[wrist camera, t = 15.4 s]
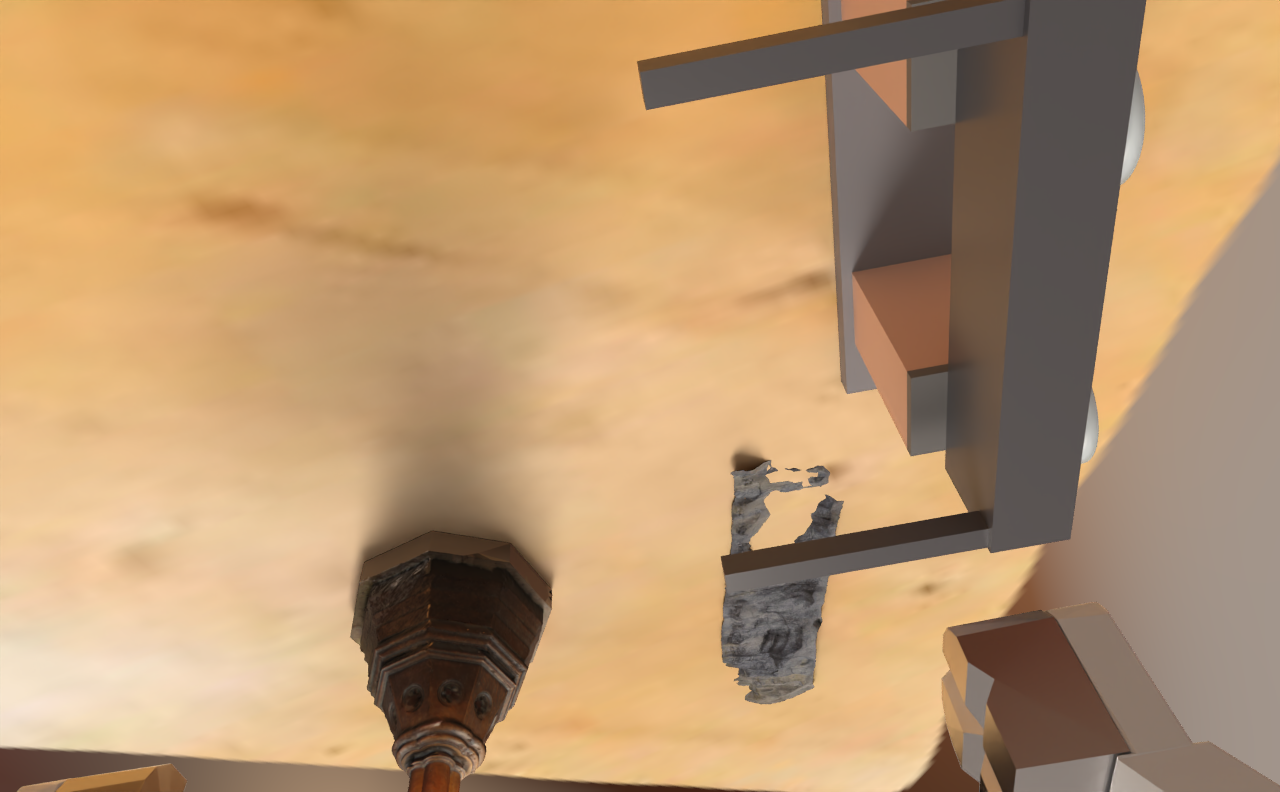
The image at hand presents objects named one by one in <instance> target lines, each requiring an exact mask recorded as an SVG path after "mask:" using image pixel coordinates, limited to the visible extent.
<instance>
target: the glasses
mask: <svg viewBox="0 0 1280 792" xmlns="http://www.w3.org/2000/svg"><path fill="white" fill-rule="evenodd" d="M1145 5H1146V0H945V1H940V2H935V3H930V4H925V5H920V6H915V7H910V8H905V9H900V10H895V11H890V12H884V13H879V14H874V15H869V16H864V17H859V18H854V19H849V20H844V21H839V22H834V23H829V24H824V25H819V26H814V27H809V28H803V29H798V30H793V31H788V32H783V33H778V34H773V35H768V36H763V37H758V38H753V39H748V40H743V41H738V42H733V43H728V44H722V45H717V46H712V47H707V48H702V49H697V50H692V51H687V52H682V53H677V54H672V55H667V56H662V57H657V58H652V59H647V60H641V61H637V64H638V70H639V76H640V82H641V88H642V94H643V99H644V103H645V107H646V110H649V109H654V108H659V107H664V106H670V105H675V104H680V103H685V102H690V101H695V100H700V99H705V98H710V97H716V96H721V95H726V94H731V93H736V92H741V91H746V90H751V89H757V88H762V87H767V86H772V85H777V84H782V83H787V82H792V81H797V80H803V79H808V78H813V77H818V76H823V75H828V74H833V73H838V72H843V71H849V70H854V69H859V68H864V67H869V66H874V65H879V64H884V63H889V62H895V61H900V60H905V59H910V58H915V57H920V56H925V55H930V54H936V53H941V52H946V51H951V50H956V49H957V79H956V113H955V148H954V182H953V216H952V251H951V285H950V319H949V354H948V388H947V422H946V457H945V469H946V471H947V473H948V474H949V476H950V478H951V480H952V482H953V484H954V486H955V488H956V489H957V491H958V493H959V495H960V497H961V499H962V501H963V503H964V504H965V506H966V508H967V510H968V513H962V514H957V515H951V516H945V517H940V518H934V519H929V520H923V521H917V522H912V523H906V524H900V525H895V526H889V527H883V528H878V529H872V530H867V531H861V532H855V533H850V534H844V535H838V536H833V537H827V538H821V539H816V540H810V541H805V542H799V543H793V544H788V545H782V546H776V547H771V548H765V549H759V550H754V551H748V552H743V553H737V554H731V555H726V556H721V561H722V567H723V573H724V578H725V583H726V588H727V593H732V592H738V591H743V590H749V589H755V588H760V587H766V586H772V585H777V584H783V583H789V582H794V581H800V580H806V579H811V578H817V577H823V576H829V575H834V574H840V573H846V572H851V571H857V570H863V569H868V568H874V567H880V566H885V565H891V564H897V563H902V562H908V561H914V560H919V559H925V558H931V557H937V556H942V555H948V554H954V553H959V552H965V551H971V550H976V549H982V548H988V549H989V551H990V553H994V552H1000V551H1006V550H1012V549H1017V548H1023V547H1029V546H1034V545H1040V544H1046V543H1051V542H1057V541H1063V540H1068V539H1070V537H1071V530H1072V523H1073V516H1074V509H1075V502H1076V495H1077V487H1078V480H1079V473H1080V466H1081V463H1085V462H1088V461H1089V460H1090V459H1091V458H1092V456H1093V455H1094V453H1095V450H1096V447H1097V442H1098V429H1099V426H1098V413H1097V406H1096V401H1095V397H1094V393H1093V390H1092V381H1093V374H1094V367H1095V360H1096V353H1097V346H1098V339H1099V332H1100V324H1101V317H1102V310H1103V303H1104V296H1105V289H1106V282H1107V275H1108V268H1109V261H1110V254H1111V246H1112V239H1113V232H1114V225H1115V218H1116V211H1117V204H1118V197H1119V190H1120V185H1121V184H1123V183H1124V182H1125V181H1126V180H1127V179H1128V178H1129V177H1130V176H1131V174H1132V173H1133V171H1134V169H1135V167H1136V165H1137V162H1138V160H1139V157H1140V153H1141V150H1142V145H1143V140H1144V131H1145V105H1144V96H1143V90H1142V85H1141V81H1140V77H1139V74H1138V71H1137V62H1138V55H1139V48H1140V41H1141V34H1142V27H1143V20H1144V13H1145Z"/></svg>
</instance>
